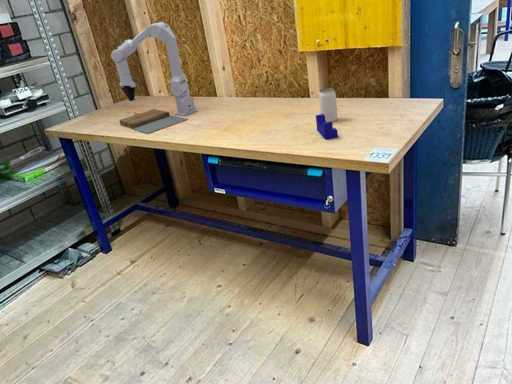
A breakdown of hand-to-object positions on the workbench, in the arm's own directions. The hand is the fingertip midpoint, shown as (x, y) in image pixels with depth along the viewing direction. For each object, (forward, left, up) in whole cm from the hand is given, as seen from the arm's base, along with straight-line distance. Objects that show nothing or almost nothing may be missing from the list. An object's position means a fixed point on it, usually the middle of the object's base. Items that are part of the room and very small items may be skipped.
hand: (132, 100), depth 219 cm
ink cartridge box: (+3, -32, -10) cm, 34 cm away
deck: (-12, +1, -9) cm, 15 cm away
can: (-103, -34, -10) cm, 108 cm away
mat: (-27, +1, -9) cm, 29 cm away
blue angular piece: (-112, -21, -10) cm, 115 cm away
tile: (-9, 0, -7) cm, 11 cm away
